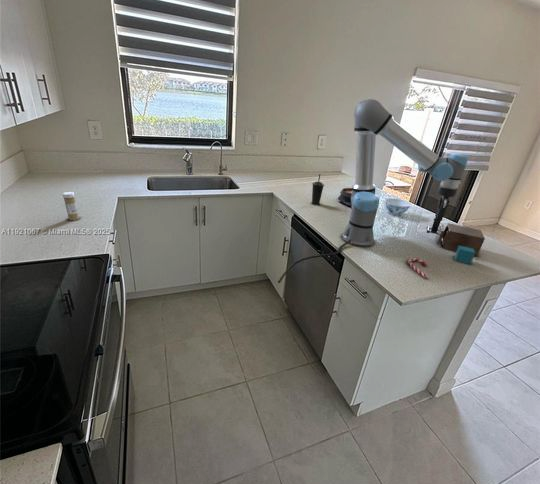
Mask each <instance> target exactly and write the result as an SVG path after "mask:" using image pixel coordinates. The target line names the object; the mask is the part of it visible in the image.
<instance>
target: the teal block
mask: <svg viewBox="0 0 540 484" xmlns="http://www.w3.org/2000/svg"><path fill="white" fill-rule="evenodd" d="M474 254H475V251H474V249H472V248H468V247H463V246H458V249H457V251H455V254H454V261H455V262H459V263H463V264H467V265H471V264H472V261H473V259H474V257H475V256H474Z"/></svg>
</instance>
